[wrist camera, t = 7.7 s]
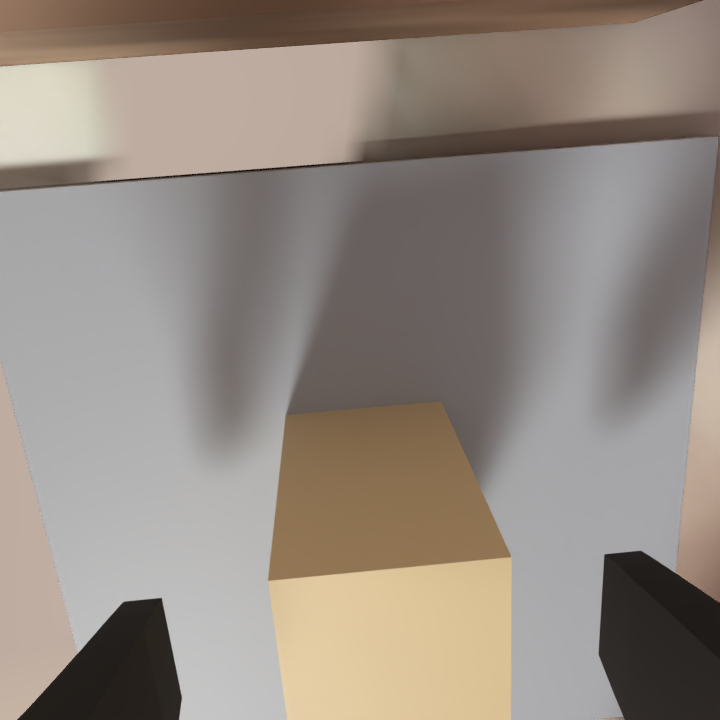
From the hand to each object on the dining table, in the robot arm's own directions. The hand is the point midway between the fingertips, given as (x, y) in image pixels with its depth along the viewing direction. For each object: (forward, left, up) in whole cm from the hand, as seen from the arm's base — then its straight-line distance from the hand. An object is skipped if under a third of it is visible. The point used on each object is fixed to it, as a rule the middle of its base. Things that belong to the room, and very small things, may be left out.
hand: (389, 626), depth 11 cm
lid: (0, -1, -4) cm, 4 cm away
